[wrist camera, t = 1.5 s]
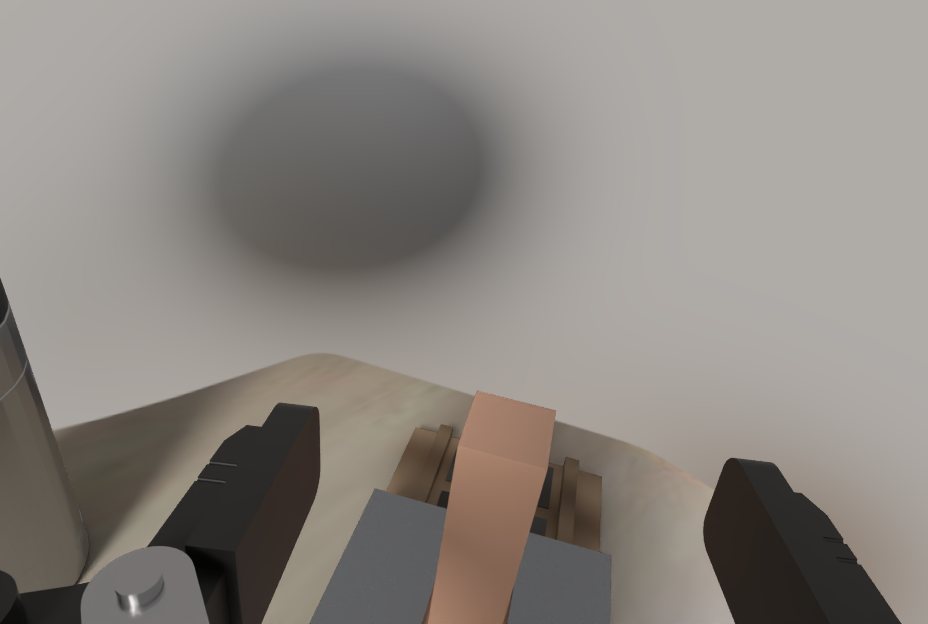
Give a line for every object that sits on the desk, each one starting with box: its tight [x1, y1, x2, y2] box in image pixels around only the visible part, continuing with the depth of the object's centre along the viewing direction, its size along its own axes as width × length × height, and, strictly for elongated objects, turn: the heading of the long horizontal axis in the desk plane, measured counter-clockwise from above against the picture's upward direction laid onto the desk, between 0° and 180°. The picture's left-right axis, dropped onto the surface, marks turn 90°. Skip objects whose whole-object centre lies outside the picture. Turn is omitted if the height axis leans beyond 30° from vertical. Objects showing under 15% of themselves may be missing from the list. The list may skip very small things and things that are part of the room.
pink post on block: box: [423, 391, 556, 624], centre depth 24 cm, size 8×8×18 cm
